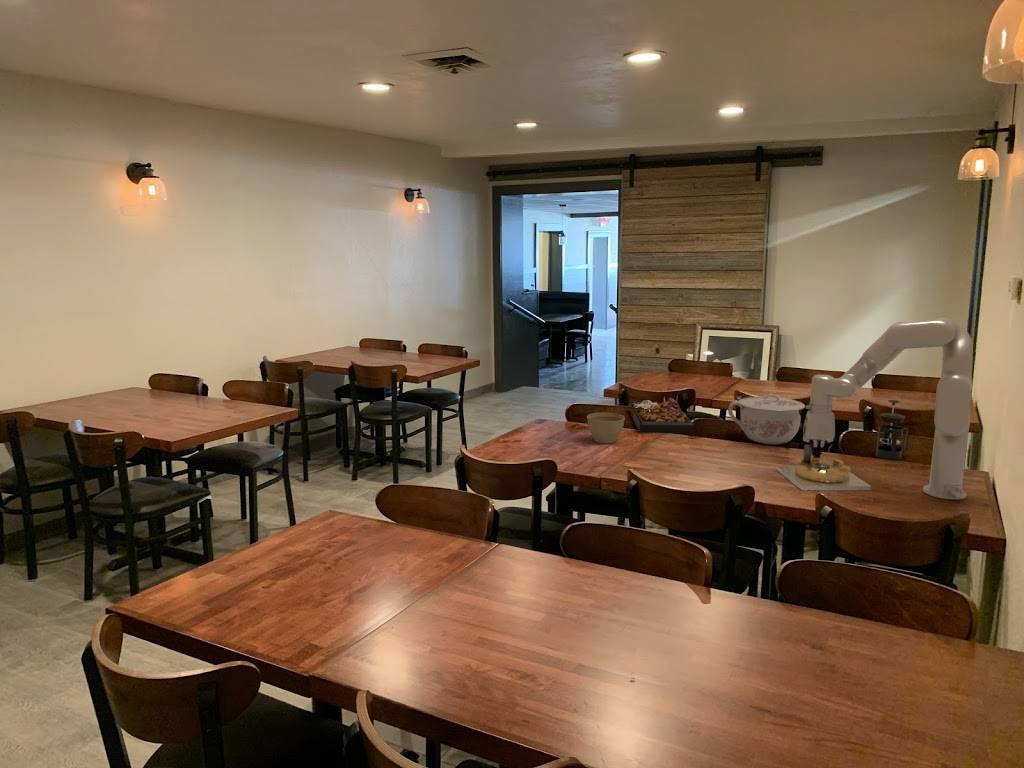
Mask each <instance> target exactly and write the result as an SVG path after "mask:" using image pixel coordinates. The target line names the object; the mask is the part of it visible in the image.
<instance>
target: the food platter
mask: <svg viewBox="0 0 1024 768" xmlns="http://www.w3.org/2000/svg"><path fill="white" fill-rule="evenodd" d="M678 397H679V396H678V395H677V396H676V400H675V399H674V398H672V397H669V398H668V400H666V397H665V396H664V397H663V402H659V403H658V402H657V401H656V402H653V401H651V400H649V399H648V400H647V399H645V400H642V402H632V403H629V404H628V408H629V407H635V408H644V410H641V412H640V413H634V421H633V422H634V424H635V426H636V428H637V431H638V432H639V434H695V430H696V429H695V427H696V426H695V423H693V422H692V420H691V419H690V418H689V417H688V416H687V414H686V413H685V412H684V411H683V410H682V408H681V407H680V405H679V404H678ZM645 409H647V410H650V413H649V412H648V413H646V412H647V410H645Z"/></svg>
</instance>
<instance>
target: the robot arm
mask: <svg viewBox="0 0 1024 768" xmlns="http://www.w3.org/2000/svg"><path fill="white" fill-rule="evenodd" d="M937 347H942V359H941V360H942V361H941V362H942V363H941V374H940V378H939V380H938V383H937V386H936V391H935V392H936V393H935V394H936V395H935V405H934V418H933V421H934V426H935V430H934V438H933V446H932V453H931V454H932V455H931V462H930V464H931V465H930V473H929V482H928V485H924V486H923V487H922V492H924V493H925V494H926V495H928V496H931V497H933V498H939V499H943V500H953V501H955V500H959V501H960V500H963V499H966V498H967V492H966V491H964V490H963V487H964V485H963V479H964V470H965V462H966V453H967V447H968V440H969V439H968V438H969V432H970V431H969V430H970V424H971V414H970V413H971V412H970V411H971V399H972V398H971V397H972V389H973V381H972V380H973V379H972V377H973V358H974V357H973V355H974V348H973V347H974V346H973V340H972V338H971V335H970V333H969V332H968V331H967V329H966V328H965V327H964V326H963V325H961V323H959V322H957V321H955V320H954V319H952V318H951V319H950V318H947V317H937V318H935V319H933V320H930V321H920V322H907V321H897V322H895V323H893V324H892V325H890V326H889V327H888V328H887V330H885V331H884V333H882V334H881V335H880V336H879V337H878V339H876V340H875V341H874V342H873V343H872V344H871V345H870V346H869V347H868V348H867V349H866V350H865V351H864V352H863V353H862V355H861V357H860V358H859V359H858V360H857V361H856V362H855V363H854V364H853V365H852V367H850V368H849V369H848V370H847V371H846V372H845V373H844V374H843V375H841V376H840V377H839V378H836V377H835V378H834V376H832V375H829V374H815V375H813V376H812V378H811V386H810V389H811V390H810V397H809V399H810V400H809V403H808V404H807V405H805V409H806V410H808V411H807V412H806V415H805V418H804V421H803V422H804V423H803V429H802V430H803V431H802V435H803V437H802V441H803V442H805V443H809V445H811V446H812V452H811V456H814V457H815V458H820V459H821V455H822V452H823V448H824V446H825V445H827V444H828V443H831V442H832V443H833V441H834V439H835V437H836V436H835V435H836V422H835V421H836V420H835V413H834V412H833V411H832V410H833V399H834V398H837V399H840V400H847V399H850V398H852V397H853V396H854V395H855V394H856V393H857V392H858V391H859V390H860V389H862V388H863V387H864V386H865V385H866V384H867V383H868V382H869V381H870V380H871V379H873V378H874V376H876V374H878V373H879V372H881V371H883V370H884V369H885V368H886V367H888V365H889V364H890V363H891V362H893V361H894V359H896V358H897V357H898V356H899V355H900V354H901V353H903V351H904V350H907V349H908V350H911V349H923V348H924V349H925V348H937Z"/></svg>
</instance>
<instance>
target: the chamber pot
mask: <svg viewBox="0 0 1024 768" xmlns="http://www.w3.org/2000/svg"><path fill="white" fill-rule="evenodd" d="M734 406H738V407H740V408H739V409H740V411H739V412H740V420H739V419H737V417H736V415H734V413H733V408H734ZM803 409H806V405H805V404H804V403H803V402H801V401H799V400H795V399H792V398H791V399H790V398H787V397H780V396H778V395H776V394H774V393H773V394H772V393H770V394H765V395H764V396H763V395H762V396H761V395H760V396H748V397H744V398H741V399H739V400H736V399H735V400H733V401H731V402H730V404H729V406H728V410H727V411H728V415H729V417H730V418H731V420H733V421H734V422H735V424H738V426H739V427H740V428H741V429H742V431H743V432H744V434H745V436H746V437H747V438H748V439H749V440H751V441H754V442H755V443H757V444H763V445H772V446H773V445H775V446H777V445H783V444H786V443H789V442H791V441H792V439H793V438H794V437H795V436H796V434H797V433H798V432H799V428H800V426H801V414H800V413H799V411H800V410H803Z"/></svg>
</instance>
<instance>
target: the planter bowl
mask: <svg viewBox="0 0 1024 768" xmlns="http://www.w3.org/2000/svg"><path fill="white" fill-rule="evenodd" d="M625 418H626V417H625V416H624V415H622V414H619V413H612V412H594V413H590V414H589V413H588V415H587V416H586V419H587V426H588V430H589V432H590V434H591V436H592V437H593V441H594V442H595V443H599V444H614V443H616V442H617V439H618V438H619V437H620V435H621V433H622V431H623V429H624V425H625V420H626V419H625Z"/></svg>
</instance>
